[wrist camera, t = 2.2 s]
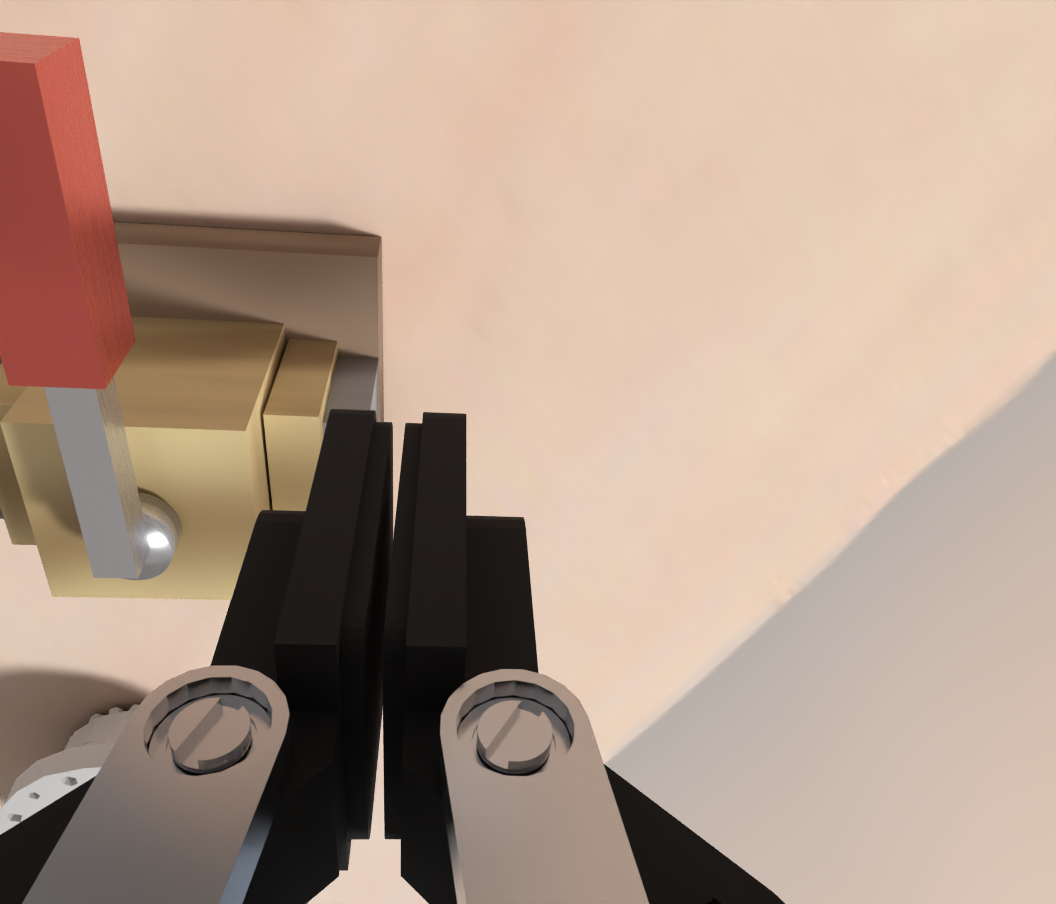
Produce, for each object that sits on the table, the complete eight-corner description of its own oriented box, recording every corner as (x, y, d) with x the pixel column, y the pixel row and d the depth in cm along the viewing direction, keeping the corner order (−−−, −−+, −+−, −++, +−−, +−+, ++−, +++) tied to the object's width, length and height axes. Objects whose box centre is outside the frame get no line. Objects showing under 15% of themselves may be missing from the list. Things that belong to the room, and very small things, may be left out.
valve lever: (187, 554, 23) (160, 624, 21) (107, 552, 23) (72, 623, 21) (94, 32, 16) (41, 64, 14) (-23, 24, 16) (-93, 54, 14)
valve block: (-15, 214, 25) (-157, 332, 20) (381, 237, 26) (357, 355, 21) (62, 495, 31) (-31, 651, 25) (384, 505, 32) (366, 657, 26)
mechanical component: (-65, 808, 33) (182, 750, 32) (-13, 711, 37) (211, 656, 36) (83, 936, 39) (298, 890, 38) (116, 841, 43) (312, 797, 42)
